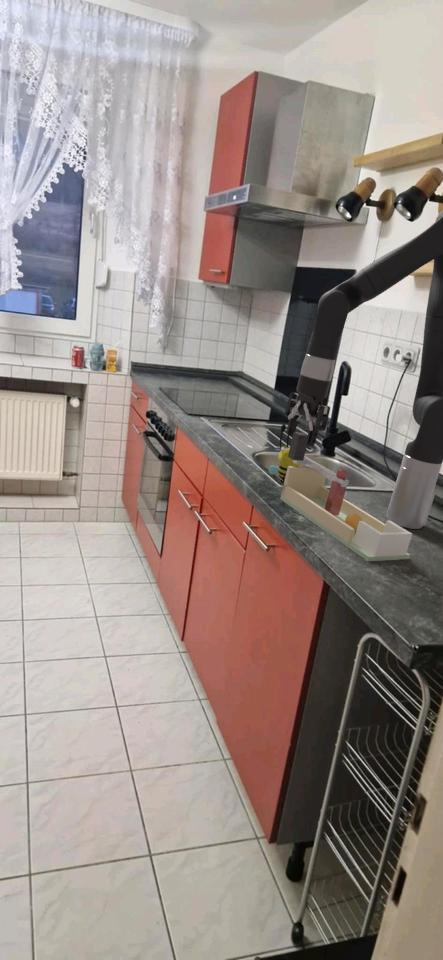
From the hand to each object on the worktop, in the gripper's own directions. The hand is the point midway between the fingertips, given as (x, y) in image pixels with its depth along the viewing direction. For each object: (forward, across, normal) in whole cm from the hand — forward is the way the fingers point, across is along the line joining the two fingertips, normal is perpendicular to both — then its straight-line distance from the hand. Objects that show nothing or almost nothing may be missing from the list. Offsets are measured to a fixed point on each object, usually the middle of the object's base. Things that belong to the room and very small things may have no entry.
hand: (299, 440), depth 153 cm
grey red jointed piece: (+14, -7, -2) cm, 16 cm away
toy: (+16, +14, -8) cm, 22 cm away
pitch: (+15, -18, -4) cm, 24 cm away
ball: (+12, -22, -4) cm, 25 cm away
